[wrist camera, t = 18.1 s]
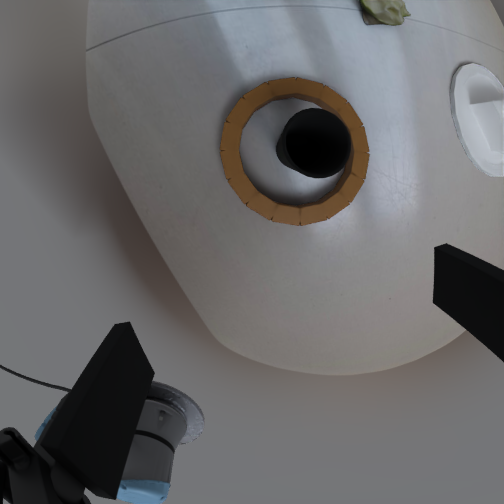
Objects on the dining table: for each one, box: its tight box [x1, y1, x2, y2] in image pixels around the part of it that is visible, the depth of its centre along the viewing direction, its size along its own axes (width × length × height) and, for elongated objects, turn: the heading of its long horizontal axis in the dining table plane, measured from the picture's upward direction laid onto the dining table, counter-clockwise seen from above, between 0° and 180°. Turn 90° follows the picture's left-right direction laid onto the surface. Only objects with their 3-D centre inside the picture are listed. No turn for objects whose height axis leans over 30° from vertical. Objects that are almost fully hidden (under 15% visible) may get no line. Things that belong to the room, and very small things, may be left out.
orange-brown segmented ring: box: [220, 77, 370, 226], centre depth 38 cm, size 21×21×3 cm
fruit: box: [359, 0, 410, 26], centre depth 29 cm, size 9×9×8 cm
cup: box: [276, 108, 351, 178], centre depth 33 cm, size 8×8×12 cm
